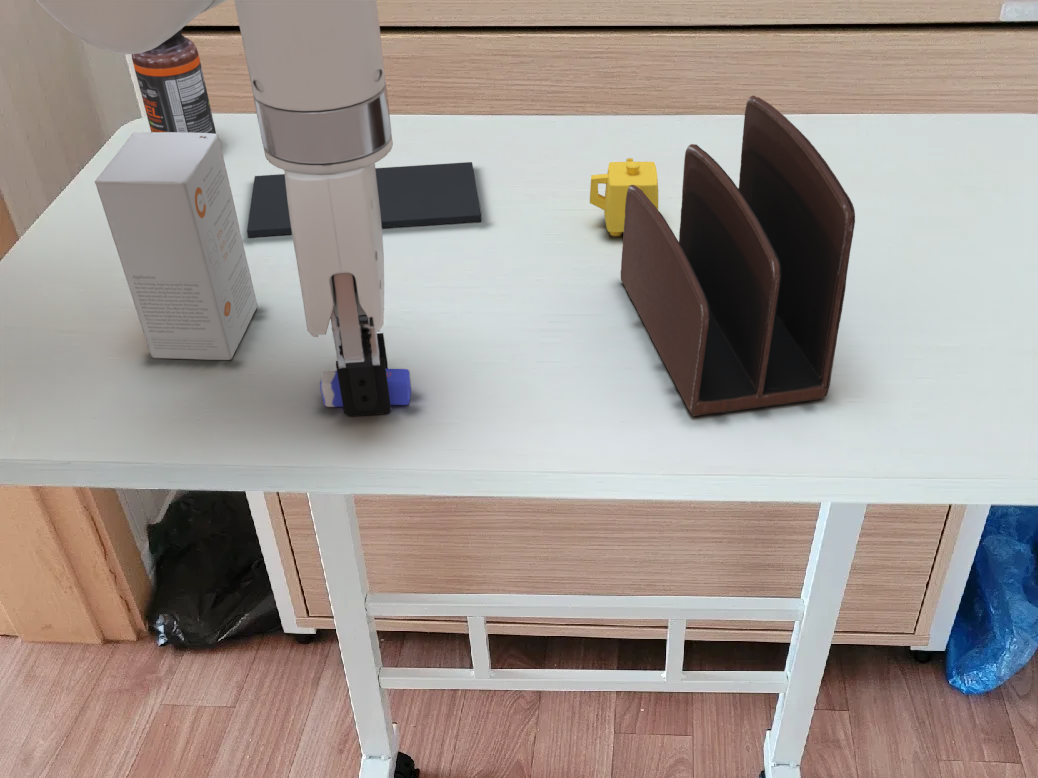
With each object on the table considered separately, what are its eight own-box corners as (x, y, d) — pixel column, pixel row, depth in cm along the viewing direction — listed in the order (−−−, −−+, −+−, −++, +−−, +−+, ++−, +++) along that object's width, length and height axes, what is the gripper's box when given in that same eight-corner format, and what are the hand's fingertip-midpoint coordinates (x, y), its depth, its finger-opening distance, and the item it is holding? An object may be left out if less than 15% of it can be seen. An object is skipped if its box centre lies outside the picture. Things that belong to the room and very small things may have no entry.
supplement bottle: (145, 149, 107) (109, 16, 99) (199, 131, 110) (168, 0, 101) (176, 167, 104) (141, 32, 96) (230, 149, 107) (201, 16, 98)
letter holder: (738, 267, 90) (761, 76, 79) (828, 401, 77) (870, 195, 66) (618, 281, 89) (625, 89, 78) (690, 420, 76) (710, 213, 65)
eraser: (327, 393, 79) (323, 368, 77) (411, 392, 79) (408, 367, 77) (323, 409, 77) (318, 383, 76) (409, 408, 77) (406, 382, 76)
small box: (181, 304, 87) (132, 129, 78) (259, 306, 87) (220, 131, 77) (148, 359, 82) (91, 179, 72) (232, 362, 82) (186, 181, 72)
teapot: (588, 204, 98) (589, 143, 94) (654, 204, 98) (658, 142, 94) (589, 247, 92) (590, 184, 89) (658, 247, 92) (662, 183, 88)
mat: (248, 237, 95) (246, 230, 94) (255, 182, 102) (254, 175, 102) (481, 221, 96) (480, 214, 95) (472, 168, 103) (472, 161, 103)
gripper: (266, 75, 69) (317, 344, 83) (250, 185, 59) (311, 473, 72) (387, 67, 70) (417, 337, 83) (393, 176, 59) (426, 464, 73)
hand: (367, 398), depth 78 cm, fingers closed on eraser, 2 cm apart
